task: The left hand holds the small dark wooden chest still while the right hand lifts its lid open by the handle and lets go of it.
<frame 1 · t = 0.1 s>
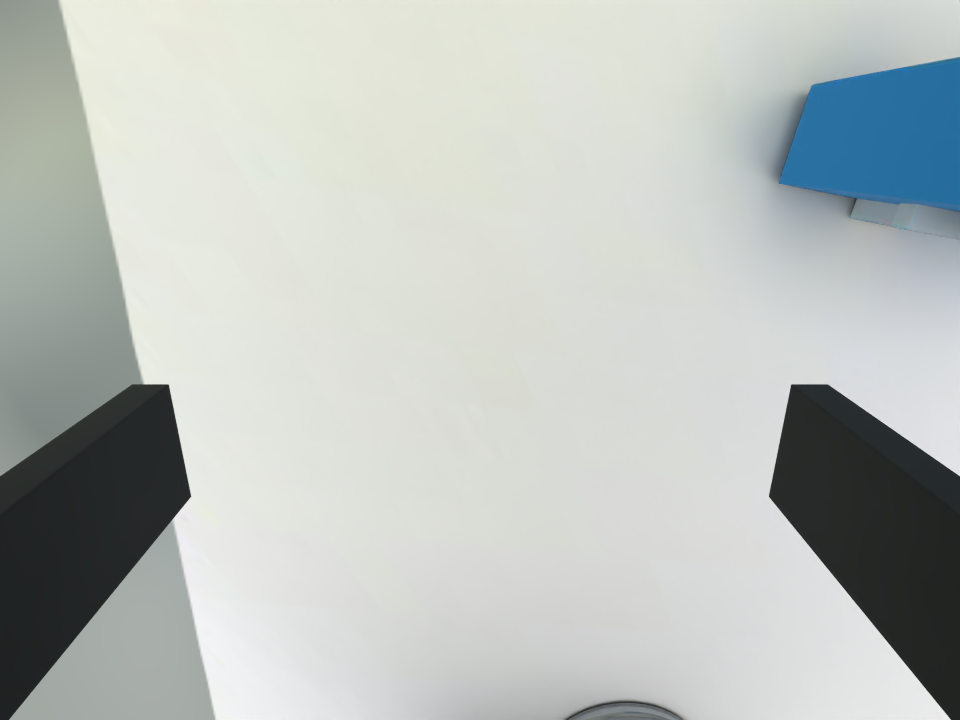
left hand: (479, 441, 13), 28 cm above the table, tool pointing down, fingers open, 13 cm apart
logo: (926, 163, 37), on the table
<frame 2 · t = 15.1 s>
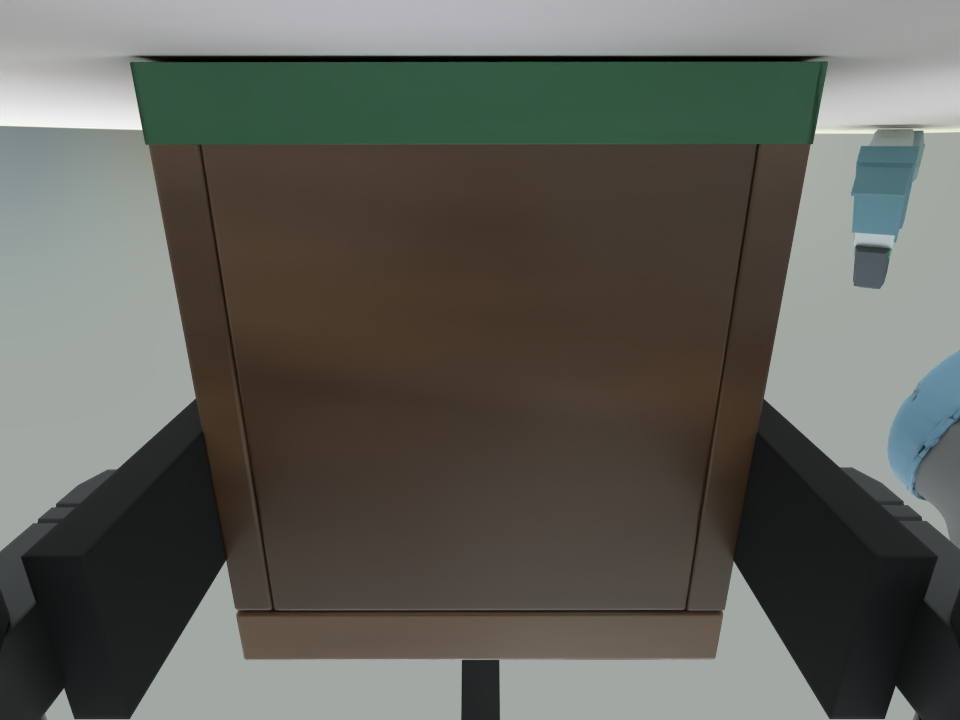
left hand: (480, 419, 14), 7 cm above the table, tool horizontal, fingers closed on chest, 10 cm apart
lid: (479, 524, 21), point 14 cm above the table, hinge at 0.0°
chest: (479, 100, 16), on the table, touching left hand
toy gun: (899, 127, 45), on the table
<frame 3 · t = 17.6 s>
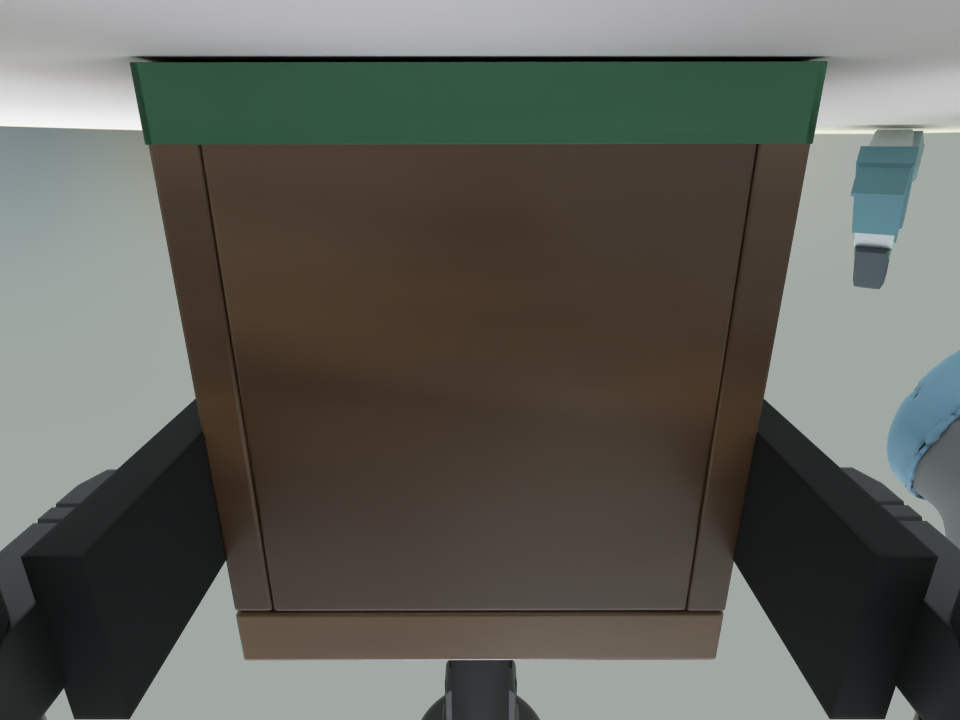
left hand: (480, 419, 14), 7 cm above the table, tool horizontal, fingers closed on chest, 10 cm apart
lid: (479, 524, 21), point 14 cm above the table, hinge at 0.0°, touching right hand
chest: (479, 100, 16), on the table, touching left hand
toy gun: (899, 128, 45), on the table
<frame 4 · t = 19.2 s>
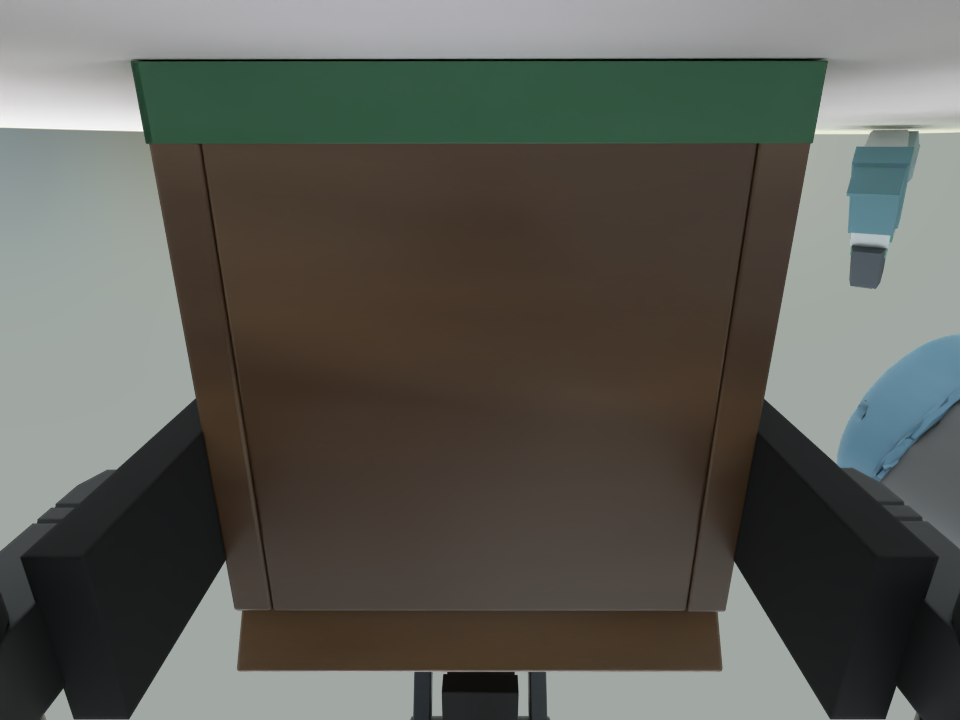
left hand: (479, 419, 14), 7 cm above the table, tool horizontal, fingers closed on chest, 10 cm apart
lid: (480, 695, 19), point 18 cm above the table, hinge at 33.6°, touching right hand
chest: (479, 101, 16), on the table, touching left hand
toy gun: (895, 128, 45), on the table
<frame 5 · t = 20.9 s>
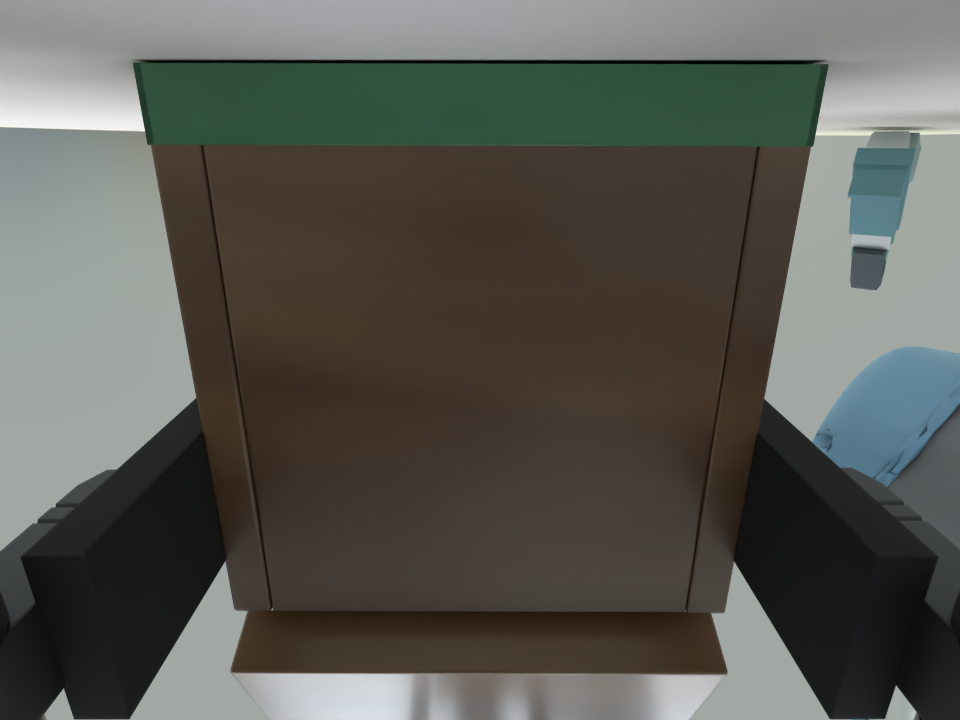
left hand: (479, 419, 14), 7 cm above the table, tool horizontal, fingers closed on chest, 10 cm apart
chest: (480, 102, 16), on the table, touching left hand
toy gun: (896, 129, 45), on the table
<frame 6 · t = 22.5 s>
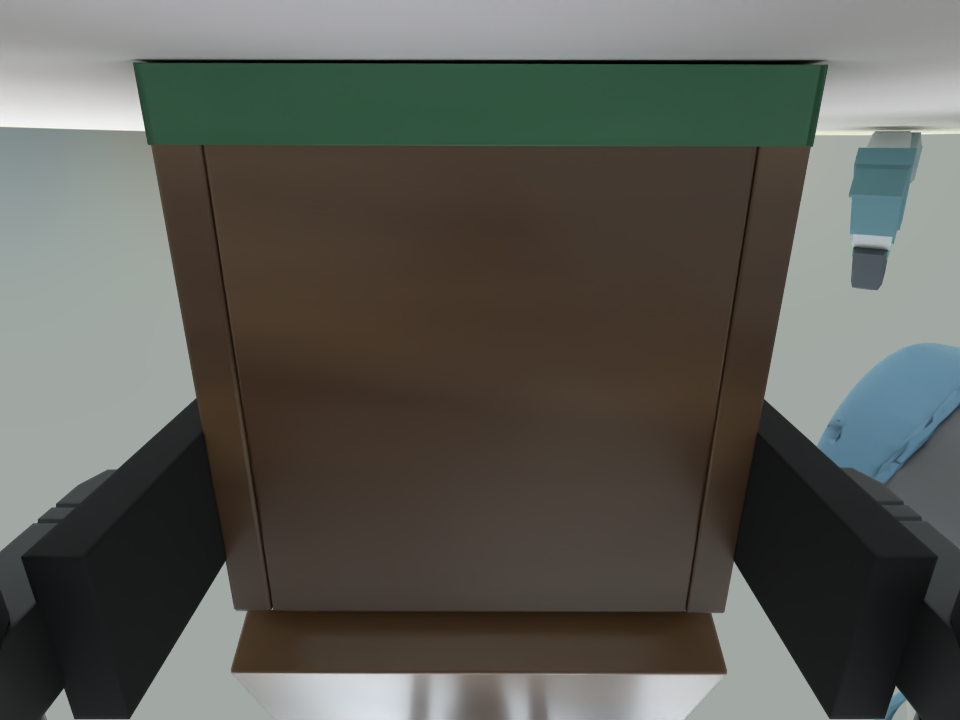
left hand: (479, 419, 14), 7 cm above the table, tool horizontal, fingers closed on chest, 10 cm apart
chest: (480, 102, 16), on the table, touching left hand
toy gun: (897, 129, 45), on the table
when the left hand's fingers open (7 cm above the table, at t = 25.1 s): chest stays where it is, on the table.
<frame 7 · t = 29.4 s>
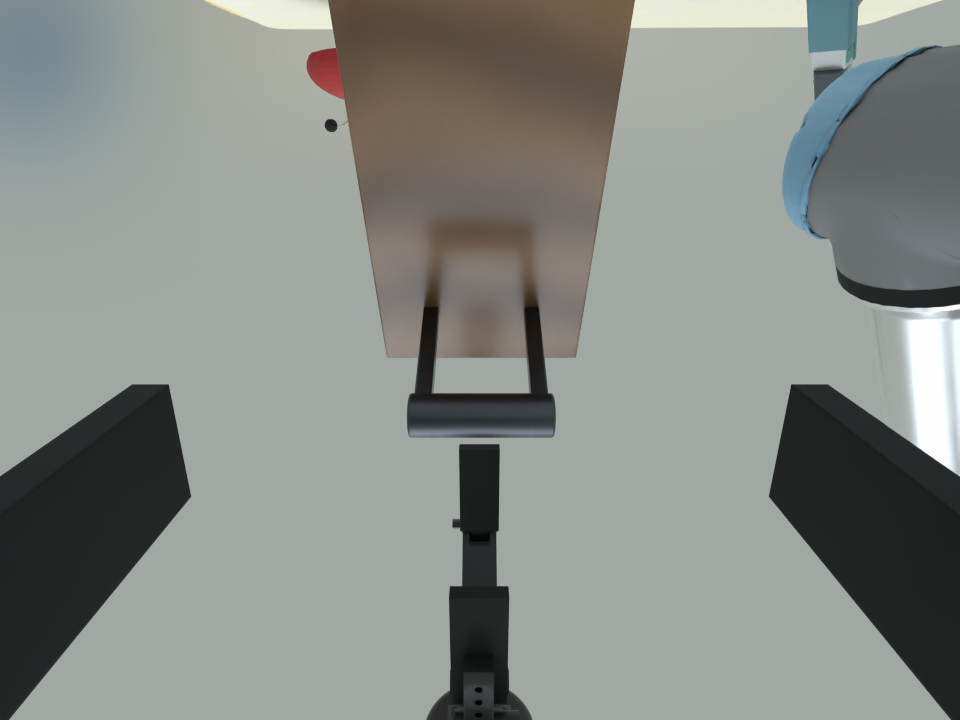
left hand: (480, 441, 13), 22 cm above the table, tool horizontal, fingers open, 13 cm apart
right hand: (479, 504, 33), fingers open, 13 cm apart
lid: (481, 252, 22), point 20 cm above the table, hinge at 64.6°
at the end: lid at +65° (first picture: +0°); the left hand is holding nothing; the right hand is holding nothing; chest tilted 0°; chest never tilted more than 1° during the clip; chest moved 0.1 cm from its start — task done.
